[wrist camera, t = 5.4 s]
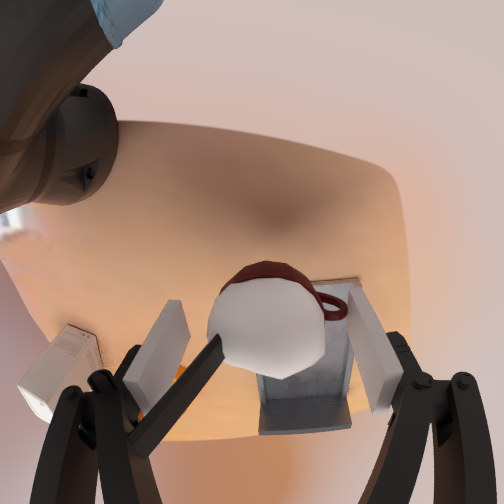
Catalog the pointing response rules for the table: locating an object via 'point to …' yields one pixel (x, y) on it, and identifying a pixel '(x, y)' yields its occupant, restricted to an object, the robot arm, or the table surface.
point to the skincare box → (60, 370)
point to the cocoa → (249, 339)
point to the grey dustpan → (313, 381)
